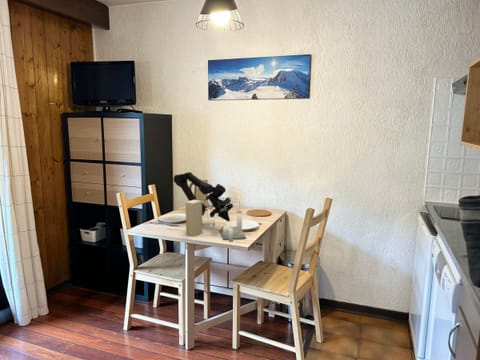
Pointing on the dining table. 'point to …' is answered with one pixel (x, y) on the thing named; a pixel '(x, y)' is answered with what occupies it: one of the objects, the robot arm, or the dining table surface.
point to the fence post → (238, 223)
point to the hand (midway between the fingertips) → (229, 221)
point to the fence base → (228, 232)
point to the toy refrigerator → (194, 217)
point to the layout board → (234, 236)
